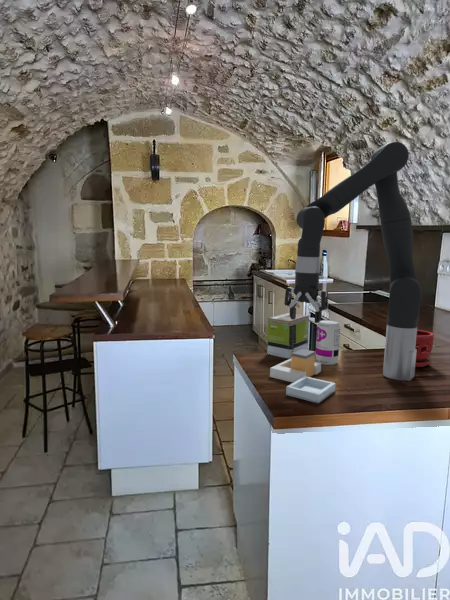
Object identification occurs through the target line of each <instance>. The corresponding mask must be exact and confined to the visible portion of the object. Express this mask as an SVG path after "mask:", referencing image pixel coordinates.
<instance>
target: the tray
mask: <svg viewBox="0 0 450 600" xmlns="http://www.w3.org/2000/svg"><path fill="white" fill-rule="evenodd" d="M285 389H286V390H285V391H286V392H285V395H286V396H289V397H293V398H296V399H300V400H305V401H308V402H310V403H311V402H312V403H315V404H320V403H321V402H322V401H324V400H325V399H327V398H328V397H330V396H331V395H332V394H334V392H336V382H332V381H327V380H323V379H318V378H315V377H306V376H304V377H302V378H301V379H299V380H297V381H295V382H294V383H293V382H291V383H290V384H289V385H287V386H286V388H285Z"/></svg>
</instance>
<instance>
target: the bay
mask: <svg viewBox="0 0 450 600" xmlns="http://www.w3.org/2000/svg"><path fill="white" fill-rule="evenodd" d="M291 361H292V357H291V358H289V359H288V358H287V360H284V361H282V362H280V363H278V364H275V365H274V366H272V367H269V369H270V370H269V377H270V378H274V379H278V380H281V381H285V382H289V383H294V382H295V381H297V380H299V379H301V378H302V377H304V376H306V372H305V371H301V370H296V369H292V368H291ZM321 372H322V364H321V363H318V362H317V361H315V365H314V375H318V374H319V373H321Z"/></svg>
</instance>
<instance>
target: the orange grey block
mask: <svg viewBox="0 0 450 600" xmlns="http://www.w3.org/2000/svg"><path fill="white" fill-rule="evenodd" d="M315 353H316V350H315V351H314V350H310V349H308V350H305V349H300V350H298V351H296V352H293V353H292V357H291V358H292V361H291V368H292V369H296V370H301V371H305V372H306V377H310V378H312V377H313V376H314V375H315V374H314V365H315V362H316V360H315Z"/></svg>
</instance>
